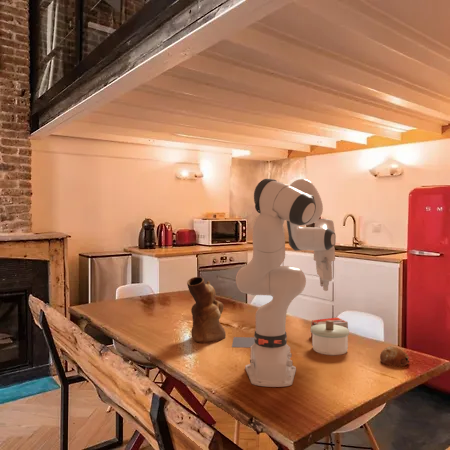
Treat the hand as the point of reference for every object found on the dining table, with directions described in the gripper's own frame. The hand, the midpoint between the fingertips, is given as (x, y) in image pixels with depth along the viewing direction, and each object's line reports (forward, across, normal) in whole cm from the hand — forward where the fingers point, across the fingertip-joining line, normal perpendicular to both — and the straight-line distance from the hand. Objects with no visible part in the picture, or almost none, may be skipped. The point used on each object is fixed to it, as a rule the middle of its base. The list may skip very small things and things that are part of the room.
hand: (324, 288), depth 176 cm
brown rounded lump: (+26, -15, -25) cm, 39 cm away
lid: (+18, -2, -2) cm, 19 cm away
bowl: (+26, -2, -2) cm, 26 cm away
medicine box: (+26, +15, -5) cm, 30 cm away
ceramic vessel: (+26, +5, +53) cm, 59 cm away
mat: (+26, +3, +33) cm, 42 cm away
